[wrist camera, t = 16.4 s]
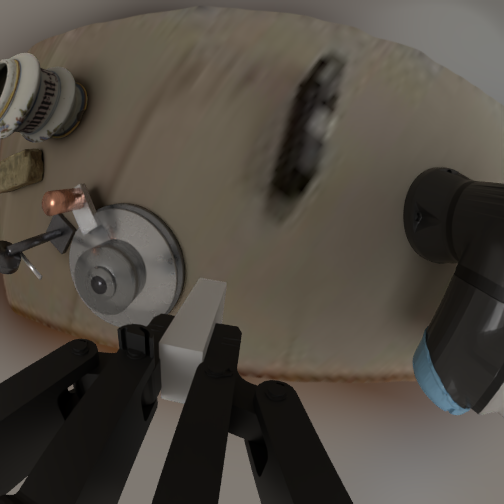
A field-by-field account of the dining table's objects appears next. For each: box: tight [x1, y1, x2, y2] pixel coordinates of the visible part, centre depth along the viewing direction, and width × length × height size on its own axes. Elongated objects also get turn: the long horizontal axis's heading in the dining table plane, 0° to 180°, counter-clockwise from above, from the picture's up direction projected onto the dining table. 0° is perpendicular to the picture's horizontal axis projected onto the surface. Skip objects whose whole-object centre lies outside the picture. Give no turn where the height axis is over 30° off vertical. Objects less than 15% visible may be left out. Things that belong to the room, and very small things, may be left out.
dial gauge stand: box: [0, 214, 76, 279], centre depth 29 cm, size 8×5×16 cm, turn 48°
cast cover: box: [74, 239, 147, 315], centre depth 32 cm, size 9×9×6 cm
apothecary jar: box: [0, 53, 87, 142], centre depth 23 cm, size 12×12×18 cm
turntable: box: [42, 184, 178, 327], centre depth 32 cm, size 18×22×9 cm
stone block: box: [0, 149, 44, 193], centre depth 32 cm, size 6×12×5 cm, turn 95°
